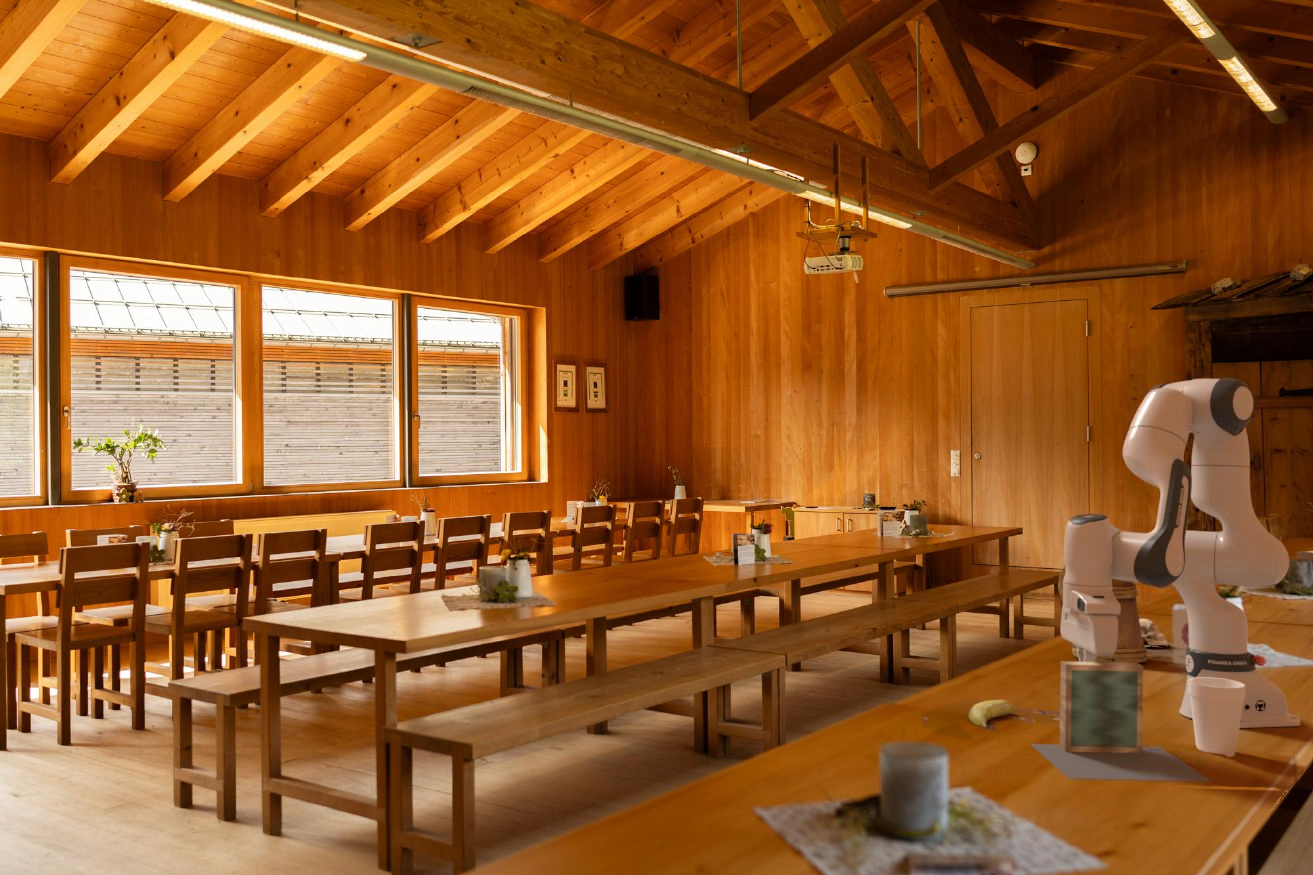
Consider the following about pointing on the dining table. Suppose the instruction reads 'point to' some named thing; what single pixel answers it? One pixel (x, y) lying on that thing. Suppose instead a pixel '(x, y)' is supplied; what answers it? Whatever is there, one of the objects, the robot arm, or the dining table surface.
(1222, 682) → the foam cup
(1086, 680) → the table sign
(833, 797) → the dining table surface
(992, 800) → the dining table surface
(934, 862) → the dining table surface
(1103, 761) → the mat
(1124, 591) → the tankard
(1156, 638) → the skull
